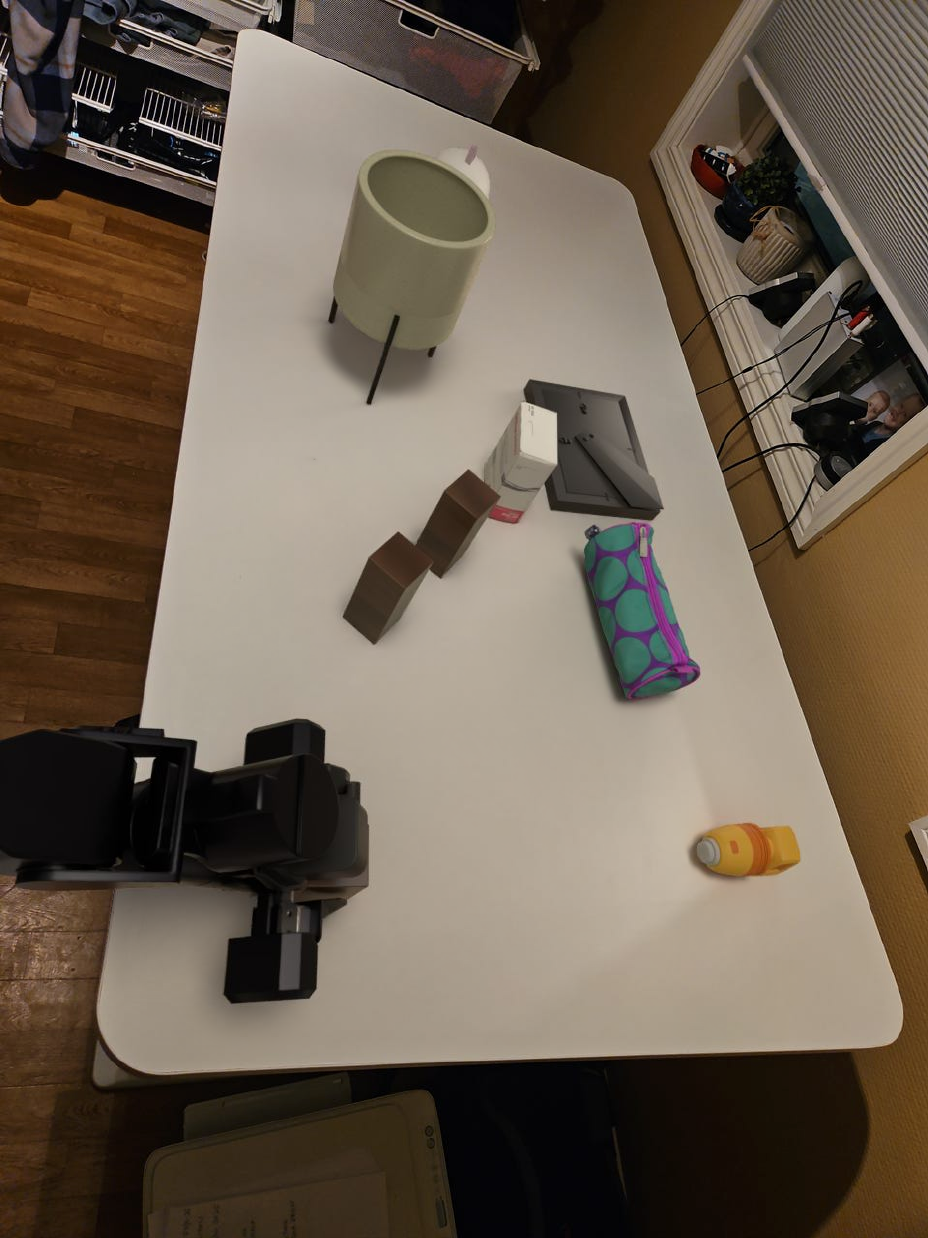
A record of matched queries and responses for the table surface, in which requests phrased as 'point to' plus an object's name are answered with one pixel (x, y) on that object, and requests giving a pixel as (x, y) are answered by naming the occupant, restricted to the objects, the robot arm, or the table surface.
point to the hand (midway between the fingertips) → (342, 866)
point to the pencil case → (637, 611)
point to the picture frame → (595, 454)
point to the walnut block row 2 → (456, 521)
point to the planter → (410, 251)
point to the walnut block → (386, 587)
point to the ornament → (467, 165)
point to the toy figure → (749, 850)
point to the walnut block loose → (334, 885)
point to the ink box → (522, 460)
